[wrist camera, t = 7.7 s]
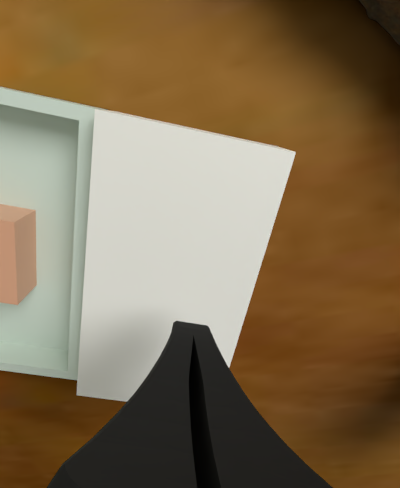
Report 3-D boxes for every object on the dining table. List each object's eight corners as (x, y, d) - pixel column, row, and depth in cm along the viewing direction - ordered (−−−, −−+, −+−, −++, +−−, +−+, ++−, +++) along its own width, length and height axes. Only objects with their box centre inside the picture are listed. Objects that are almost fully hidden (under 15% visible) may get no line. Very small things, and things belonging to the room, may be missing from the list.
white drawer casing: (212, 373, 20) (215, 412, 18) (92, 356, 20) (76, 395, 17) (276, 146, 15) (296, 152, 12) (114, 111, 14) (94, 108, 11)
